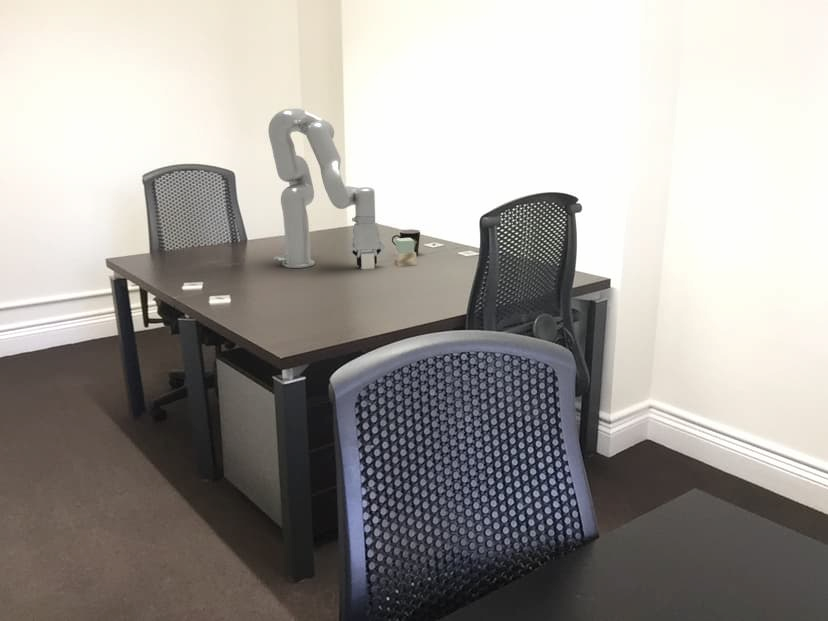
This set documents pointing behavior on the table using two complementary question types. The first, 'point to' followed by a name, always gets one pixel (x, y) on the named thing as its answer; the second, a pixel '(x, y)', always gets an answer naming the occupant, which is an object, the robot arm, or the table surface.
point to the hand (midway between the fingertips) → (366, 265)
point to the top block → (367, 260)
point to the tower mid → (404, 245)
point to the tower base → (405, 259)
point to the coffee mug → (410, 234)
